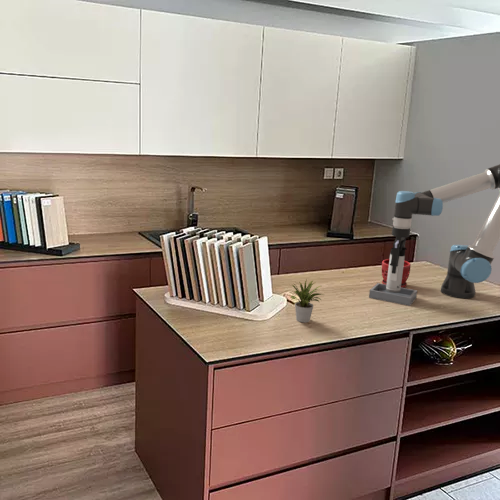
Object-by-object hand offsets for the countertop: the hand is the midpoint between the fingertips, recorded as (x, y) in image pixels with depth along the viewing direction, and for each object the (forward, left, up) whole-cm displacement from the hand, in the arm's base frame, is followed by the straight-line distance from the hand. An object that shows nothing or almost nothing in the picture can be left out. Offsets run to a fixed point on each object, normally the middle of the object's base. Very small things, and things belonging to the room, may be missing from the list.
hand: (395, 278), depth 248 cm
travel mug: (0, 0, -6) cm, 6 cm away
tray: (0, 0, -9) cm, 9 cm away
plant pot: (+4, -18, -9) cm, 21 cm away
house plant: (+23, +51, -9) cm, 57 cm away
